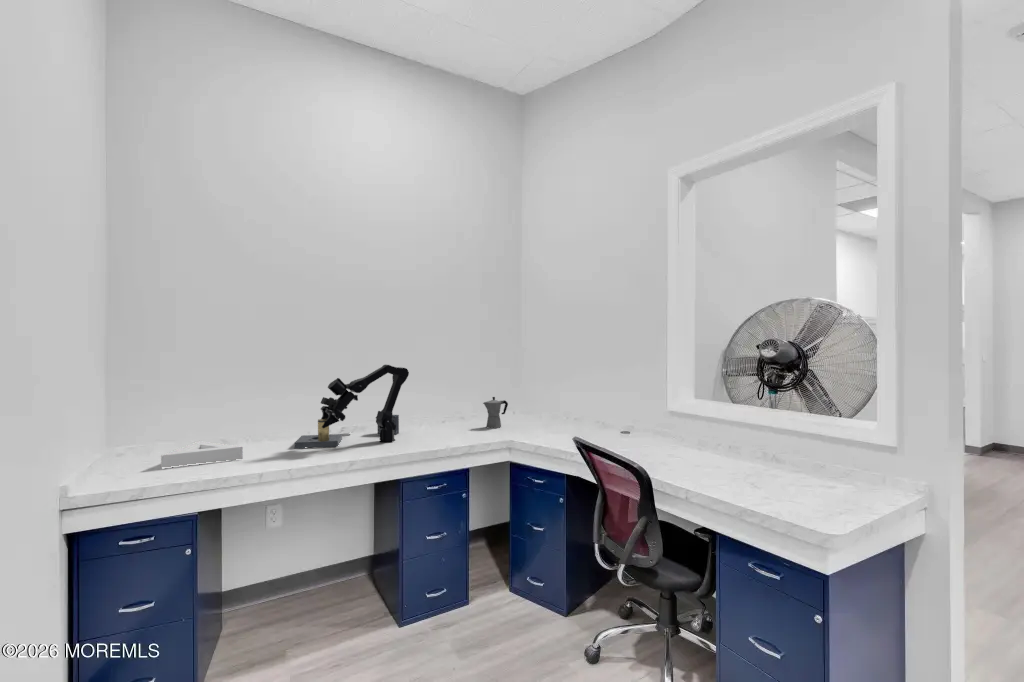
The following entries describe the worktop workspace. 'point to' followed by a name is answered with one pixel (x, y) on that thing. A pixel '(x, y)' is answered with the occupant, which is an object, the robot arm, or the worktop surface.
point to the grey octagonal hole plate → (313, 441)
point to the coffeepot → (494, 412)
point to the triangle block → (201, 454)
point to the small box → (395, 421)
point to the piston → (322, 431)
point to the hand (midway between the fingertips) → (320, 426)
